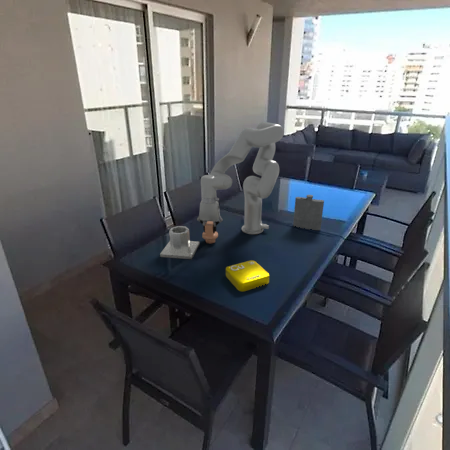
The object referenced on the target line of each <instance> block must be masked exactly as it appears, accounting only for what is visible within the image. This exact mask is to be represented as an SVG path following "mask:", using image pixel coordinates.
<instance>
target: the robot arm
mask: <svg viewBox="0 0 450 450" xmlns="http://www.w3.org/2000/svg"><path fill="white" fill-rule="evenodd" d="M284 134H285V131H284V128H283V126H282V125H280V124H277V123H274V122H273V123H272V122H267V121H264V122H263V121H262V122H260V123H257V126H256V128H253V127H246V128H244V129H242V130H241V132H240V134H238V136H237V139H236V140H235V142H234V143H233V145H232V147H231V148H230V150H229V152H228V153H226V154H224V156H222V157H221V158H220V159H218V161H217V162H216V163H215V164H214V165H213V167H212V169H211V171H210V173H209V174H205V175H202V176H201V177H200V189H201V192H200V194H201V201H200V203H199V214H198V216H197V217H196V221H198V222H199V223H200V224H201V225H202V226H203V232H205V225H206V223H207V221H212V222H213V224H214V225H213V233H215V231H216V232H217V226H218V225H219V224H221V223H222V222H224V221H223V220H224V219H223V218H222V216H221V213H220V212H221V210H220V205H219V201H220V198H219V197H217V191H218V190H227V189H230V188H231V187H232V185H233V179H232V178H231V176H230V175H228V174H226V172H227V170H228V169H229V168H230V167H232V166H234V165H236V164H237V165H238V164H240V163H242V162H244V161H245V159H246V157H247V156H248V154H249V153H250V152H251V149H253V148H258V152H257V154H256V156H255V159H254V162H253V166H252V171H253V173H254V174H256V175H258V176H261V177H258V176H255V175H249V176H247V177H246V178H245V179H244V181H243V184H242V187H243V188H242V189H243V193H244V223H243V225H242V226H241V231H242V232H243V233H245V234H248V235H258V234H259V235H260V234H261V233H263V232H264V229H265V230H266V229H267V230H269V228H270V227H269V226H270V225H268V224H267V223H263V221H262V208H263V207H262V205H263V199H267V198H268V197H269V196H270V195H271V194H272V192H273V189H274V187H275V185H276V182H277V179H278V177H279V174H280V166H279V162H277V161H276V160H273V159H274V156H275V153H276V143H277V142H279V141H281V140H282V139H283V137H284Z"/></svg>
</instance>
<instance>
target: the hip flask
mask: <svg viewBox="0 0 450 450" xmlns="http://www.w3.org/2000/svg"><path fill="white" fill-rule="evenodd" d="M324 205H325V200H323V199H317V198H316V199H314V195H313V194H306V196H305V197H303V196H296V197H295V200H294V211H293V223H292V226H293V227H295V226H296V227H297V228H299V227H300V228H299V229H304V228H305V230H310V229H312V230H313V231H321V228H322V221H323V220H322V219H323V213H324ZM296 227H295V228H296Z"/></svg>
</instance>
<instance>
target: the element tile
mask: <svg viewBox="0 0 450 450" xmlns="http://www.w3.org/2000/svg"><path fill="white" fill-rule="evenodd" d="M225 277H226V278H227V279H228V280H229V282H230V283H231V284H232V285H233V286H234V287H235V288H236V290H237V291H239V292H246V291H250V290H252V289H256V287H257V288H259V286H260V287H262V285H263V286H266V285H268V284H269V283H270V273H269V272H268V271H267V270H266V269H264V268H263V267H262V266H261V265H260V264H259V263H257V261H255V260H252V259H251V260H247V261H244V262H239V263H236V264H232V265H229V266H226V267H225ZM265 284H266V285H265Z"/></svg>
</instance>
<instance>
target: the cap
mask: <svg viewBox="0 0 450 450" xmlns="http://www.w3.org/2000/svg"><path fill="white" fill-rule="evenodd" d="M213 225H214V224H213V221H206V225H205V231H203V232H202V237H201V238H202V239H203V240H205V243H206V244H208V245H210V244H211V245H212V244H214V243H216V239H218V238H219V233H218V231H217V230H216V231H215V233H213Z"/></svg>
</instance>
